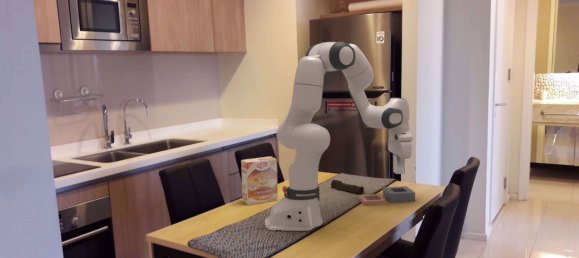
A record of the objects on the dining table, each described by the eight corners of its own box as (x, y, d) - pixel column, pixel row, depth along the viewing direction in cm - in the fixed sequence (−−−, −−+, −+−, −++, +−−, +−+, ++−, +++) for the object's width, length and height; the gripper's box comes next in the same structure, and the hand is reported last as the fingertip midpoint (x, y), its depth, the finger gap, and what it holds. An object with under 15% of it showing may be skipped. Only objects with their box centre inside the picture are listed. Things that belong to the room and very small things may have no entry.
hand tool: (364, 194, 207) (364, 184, 207) (359, 195, 204) (359, 186, 204) (334, 187, 221) (334, 178, 221) (329, 188, 219) (329, 179, 218)
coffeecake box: (248, 205, 193) (246, 162, 191) (242, 201, 199) (240, 159, 197) (278, 200, 200) (277, 158, 198) (271, 196, 206) (270, 155, 204)
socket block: (390, 202, 192) (390, 193, 191) (382, 195, 202) (382, 187, 202) (415, 201, 193) (415, 192, 192) (406, 194, 203) (406, 186, 203)
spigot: (396, 173, 194) (396, 156, 193) (393, 171, 198) (393, 154, 197) (405, 173, 194) (405, 155, 193) (401, 171, 198) (401, 153, 197)
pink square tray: (364, 205, 188) (364, 201, 188) (359, 199, 198) (359, 195, 197) (386, 204, 189) (386, 200, 189) (379, 198, 198) (379, 194, 198)
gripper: (384, 131, 204) (384, 160, 206) (399, 137, 184) (399, 170, 185) (397, 130, 204) (397, 159, 206) (414, 137, 184) (414, 169, 186)
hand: (399, 164), depth 196 cm, fingers closed on spigot, 4 cm apart
